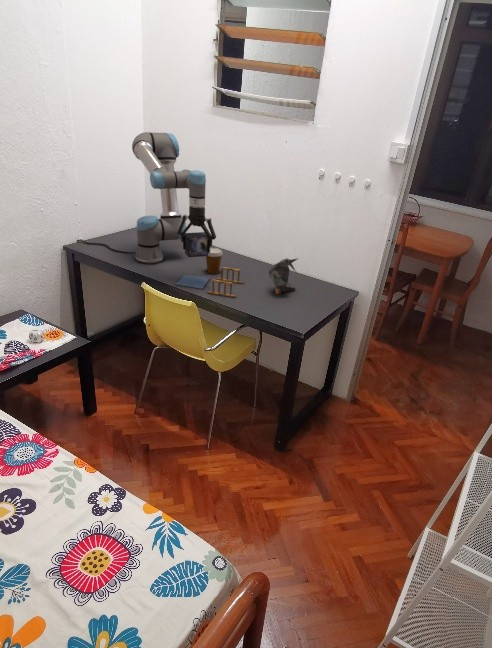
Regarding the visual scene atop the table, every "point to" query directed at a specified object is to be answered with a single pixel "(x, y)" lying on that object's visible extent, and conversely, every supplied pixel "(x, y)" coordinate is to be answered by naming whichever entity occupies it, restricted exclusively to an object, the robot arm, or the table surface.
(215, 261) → the disposable coffee cup
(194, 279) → the felt mat
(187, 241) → the small box
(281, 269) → the bird figurine
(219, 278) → the rack
